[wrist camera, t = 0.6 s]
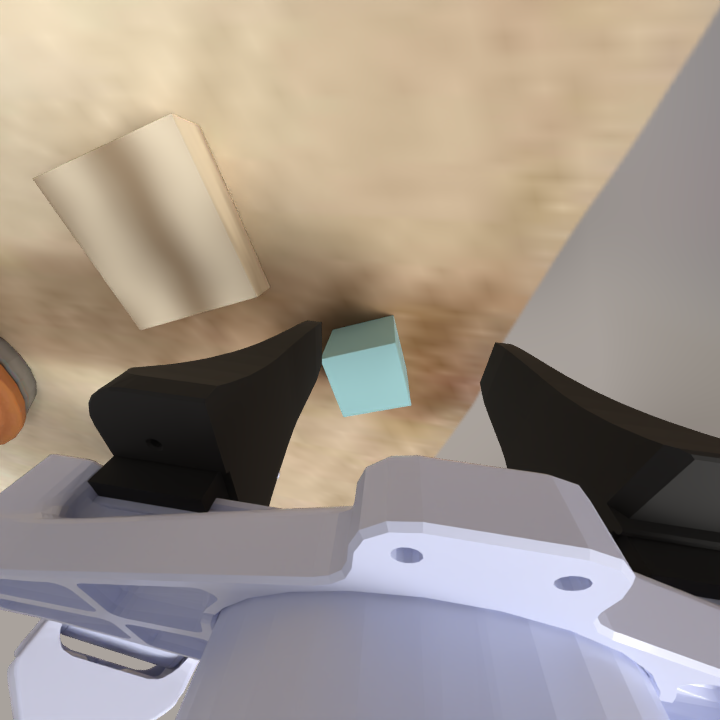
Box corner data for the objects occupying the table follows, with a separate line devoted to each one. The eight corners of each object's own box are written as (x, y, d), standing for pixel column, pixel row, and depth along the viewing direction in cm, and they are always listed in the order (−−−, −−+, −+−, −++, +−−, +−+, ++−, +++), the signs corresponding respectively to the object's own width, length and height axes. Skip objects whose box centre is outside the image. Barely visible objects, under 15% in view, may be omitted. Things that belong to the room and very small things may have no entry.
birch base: (163, 318, 23) (140, 330, 21) (73, 181, 18) (32, 178, 16) (270, 287, 21) (257, 296, 19) (199, 125, 16) (171, 113, 14)
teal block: (350, 379, 25) (343, 417, 20) (332, 329, 22) (320, 359, 18) (406, 368, 24) (411, 405, 19) (393, 314, 21) (395, 342, 17)
